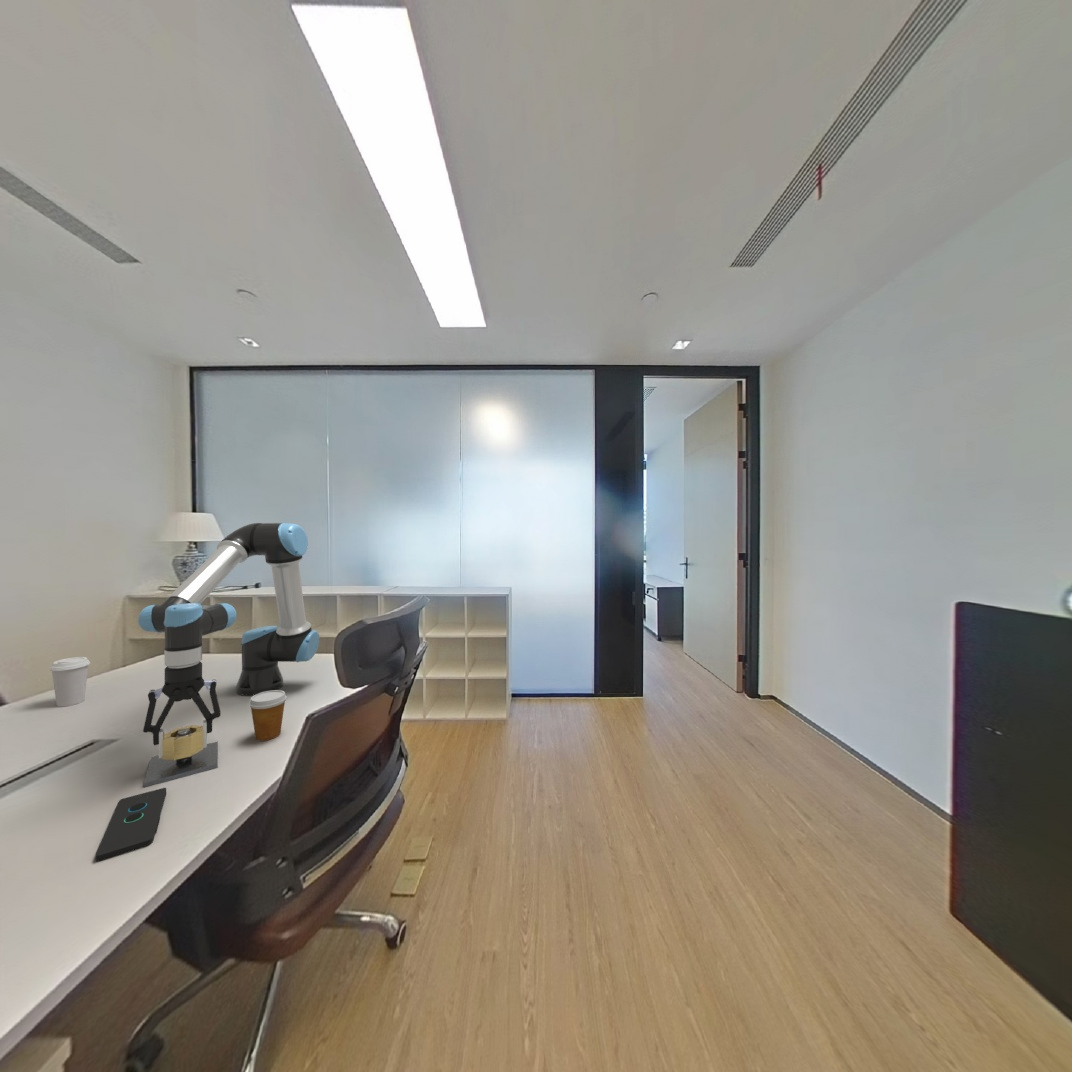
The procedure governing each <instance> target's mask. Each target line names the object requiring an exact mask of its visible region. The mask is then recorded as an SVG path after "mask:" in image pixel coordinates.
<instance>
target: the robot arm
mask: <svg viewBox="0 0 1072 1072" xmlns="http://www.w3.org/2000/svg"><path fill="white" fill-rule="evenodd" d="M308 546H309V541H308V536H307V533H306V531H305V529H304V528H303V527H301V525H299V524H296V523H287V522H272V523H271V522H265V523H263V522H254V523H249V524H247V525H243V526H241V527H239V528H238V529H235V530H234V531H233V532H231V533H230V534H228V535H227V536H226V537H224V538H223V539H222V540H221V541H220V542H219V543H218V544H217V546H216V550H215V551H214V552H213V553H212V554H211V555H210V556H209V557H208V558H207V559H206V560H205V561H204V562H203V563H202V564H201V565H199V566H198V567H197V568H196V570H195V571H194V572H192V573H191V574H190V575H189V576H188V578H186V579H185V580H184V581H183V582H182V583H181V584H180V585H179V586H178V587H177V588H176V589H175V590H174V591H173V592H172V593H171V594H170V595H169V596H167V598H166V599H165V600H164V601H162V603H161V604H152V605H151V604H150V605H148V606H146V607H144V608H143V609H142V610H141V611H140V613H139V615H138V617H137V618H138V622H137V623H138V625H139V627H140V628H141V630H142V631H145V632H153V633H159V634H161V633H164V650H163V651H164V666H165V668H164V684H163V686H162V687H161V688H157V689H150V690H149V692H148V694H147V697H148V701H149V703H148V707H147V711H146V717H145V721H144V724H143V730H142V731H143V733H152V745H153V746H157V745H158V756H159V759H160V758H163V737H164V734H165V728H164V727H163V728H162V726H163V724H164V723H165V720H166V719H167V717H168V715H169V713H170V712H171V710H172V707H173V706H174V704H175V702H176V703H178V702H181V701H189V700H192V701H193V702H194V703H195V705H196V707H197V708H198V710H199V711H200V712H201V715H202V716H203V717H204V719H203V721H202V726H203V748H205V747H207V744H208V734H211V733H212V732H213V720H215V719H216V718H217V719H218V718H220V717H221V716H222V715H221V713H222V712H221V707H220V704H219V703H220V702H219V699H218V695H217V689H216V688H217V680H216V679H212V680H205V679H204V678H203V663H202V660H203V637H204V636H207V635H210V634H213V633H215V632H221V631H223V630H225V629H227V628H230V627H232V626H233V624H235V622H236V620H237V617H238V616H237V615H238V614H237V611H236V609H235V607H234V606H233V605H231V604H229V603H226V602H225V603H224V602H223V603H215V604H212V605H202V604H203V602H204V601H205V600H206V598H208V597H209V595H210V594H211V593H212V592H213V591H214V590H215V589H216V588H217V587H218V586H219V584H221V583H222V582H223V580H224V579H225V578H227V576H228V575H229V574H231V572H232V571H233V570H234V569H235V568H236V567H237V565H239V564H242V563H244V562H245V561H246V560H248V558H250V557H253V556H264V557H265V564H267V565H269V566H270V567H271V570H272V579H273V587H274V592H275V598H276V599H275V600H276V607H277V612H278V621H279V626H278V625H267V626H261V627H257V628H252V629H249V630H246V631H244V633H242V636H241V643H240V645H241V673H240V676H239V678H238V679H237V680H238V681H237V683H236V687H235V688H236V689H235V690H236V691H235V692H236V694H237V695H240V696H254V695H256V694H259V693H262V692H266V691H272V690H280V689H281V688H282V687H283V685H284V677H283V675H282V672H281V669H280V668H279V665H278V664H279V663H281V662H283V663H284V662H285V663H287V662H288V663H292V662H293V663H295V662H296V663H300V662H308V661H310V660H312V659H313V657H315V654H316V653H317V651H318V648H319V645H320V634H319V632H318V631H317V630H314V629H312V623H311V622H309V621H308V620H307V618H306V611H305V603H304V602H305V601H304V596H303V595H304V593H303V587H302V579H301V572H300V565H299V564H300V561H302V560H303V556H304V555H305V554H306V553H307V550H308ZM204 686H205V688H206V690H208V691H209V697H210V700H211V705H212V709H213V710H212V711H213V712H212V713H211V711H210V709H209V707H208V706H207V705H206V703H205V702H204V700H203V698H202V697H201V694H200V693H199V692H200V691H201V689H202V688H203V687H204ZM161 694H164V695H165V696H166V697H167V698H168V699H167V702H166V704H165V706H164V708H163V710H162V711H161V713H160V715H159V717H158V719H157V721H156V723H155V724H152V722H153V718H154V714H155V711H156V710H155V709H156V706H157V705H156V704H157V701H158V700H157V699H159V698H160V697H161Z"/></svg>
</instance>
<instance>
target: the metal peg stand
mask: <svg viewBox="0 0 1072 1072" xmlns="http://www.w3.org/2000/svg"><path fill="white" fill-rule="evenodd" d="M190 734H192V731H190V729H183V730H180V731H178V734H177V735H176V738H178V737H183V736H187V735H190ZM218 756H219V742H218V741H217V740H216V741H215V742H213V741H212V742H210V743H209V742H208V743H207V747H205V748H203V750H201V751H199V752H198V753H196V754H194V755H192V756H190V757H185V758H181V759H177V760H166V759H163V758H160V759H159V755H154V756H151V757H150V760H149V764H148V768H147V771H146V775H145V778H144V781H143V788H146V787H150V786H154V785H157V784H160V783H165V782H168V781H173V780H177V779H180V778H184V777H187V776H191V775H194V774H195V775H196V774H199V773H202V772H206V771H210V770H214V769H217V768H219V764H218V763H219V761H218V759H219V757H218Z"/></svg>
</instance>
